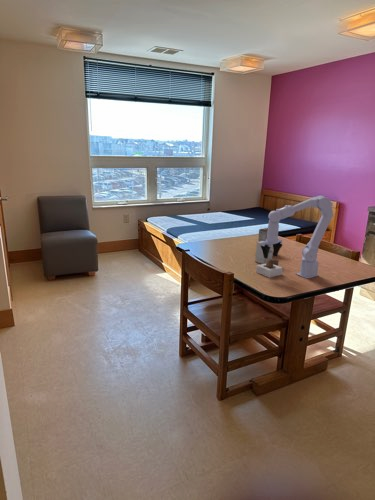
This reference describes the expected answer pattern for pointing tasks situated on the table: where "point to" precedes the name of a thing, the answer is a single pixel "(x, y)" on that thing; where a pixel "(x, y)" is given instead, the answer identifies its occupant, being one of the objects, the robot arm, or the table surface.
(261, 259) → the supplement box
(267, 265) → the brown rounded cylinder
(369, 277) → the table surface
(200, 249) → the table surface
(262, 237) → the coffee box
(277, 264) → the short pin
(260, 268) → the hole block
